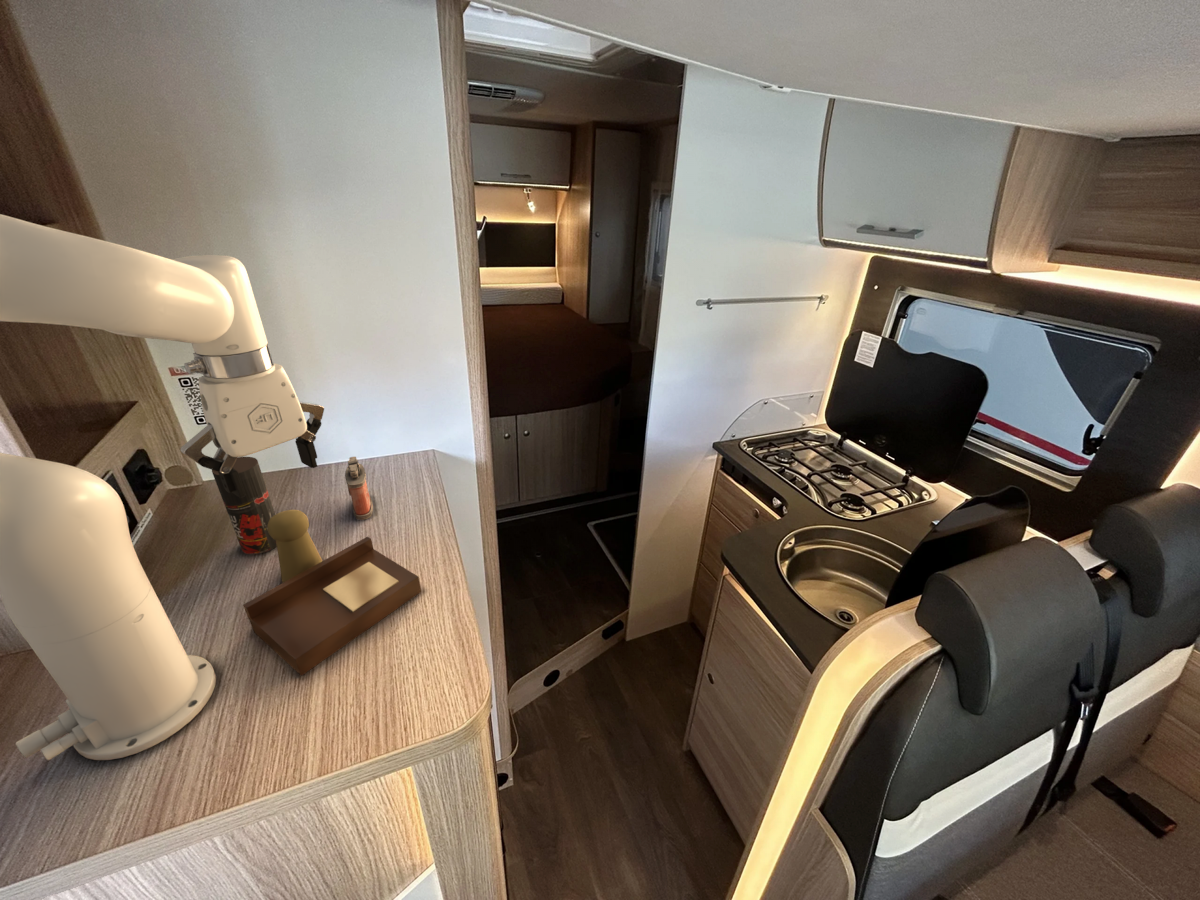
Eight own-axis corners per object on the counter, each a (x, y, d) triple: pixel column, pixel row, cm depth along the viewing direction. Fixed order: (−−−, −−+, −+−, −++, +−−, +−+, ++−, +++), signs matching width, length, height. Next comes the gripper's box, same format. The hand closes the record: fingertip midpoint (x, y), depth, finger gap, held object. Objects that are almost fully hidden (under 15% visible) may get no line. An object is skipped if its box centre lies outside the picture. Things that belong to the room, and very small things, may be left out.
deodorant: (290, 533, 86) (266, 458, 79) (266, 555, 81) (238, 476, 74) (258, 531, 87) (231, 455, 80) (232, 552, 81) (201, 473, 74)
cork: (307, 590, 74) (287, 530, 69) (272, 583, 75) (250, 524, 70) (334, 564, 80) (318, 506, 75) (301, 558, 81) (283, 501, 76)
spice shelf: (301, 676, 61) (290, 647, 59) (253, 632, 67) (242, 604, 65) (421, 591, 75) (416, 565, 72) (373, 561, 81) (367, 536, 78)
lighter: (352, 499, 96) (341, 453, 92) (371, 495, 98) (361, 450, 93) (353, 521, 90) (342, 473, 85) (374, 517, 91) (363, 470, 87)
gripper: (166, 388, 54) (219, 517, 62) (321, 351, 67) (348, 462, 75) (139, 373, 57) (193, 497, 65) (291, 341, 70) (320, 448, 78)
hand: (275, 478), depth 70 cm, fingers open, 9 cm apart
